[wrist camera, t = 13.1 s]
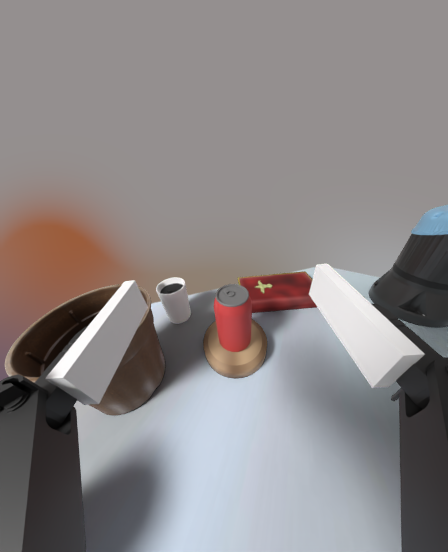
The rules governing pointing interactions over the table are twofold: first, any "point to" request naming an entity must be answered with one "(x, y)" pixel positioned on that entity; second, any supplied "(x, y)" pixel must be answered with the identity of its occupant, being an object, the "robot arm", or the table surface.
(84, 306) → the plant pot
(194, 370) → the table surface
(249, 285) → the hardcover book
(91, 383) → the robot arm
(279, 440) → the table surface
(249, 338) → the beer can
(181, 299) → the white cup
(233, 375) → the shallow wooden bowl
